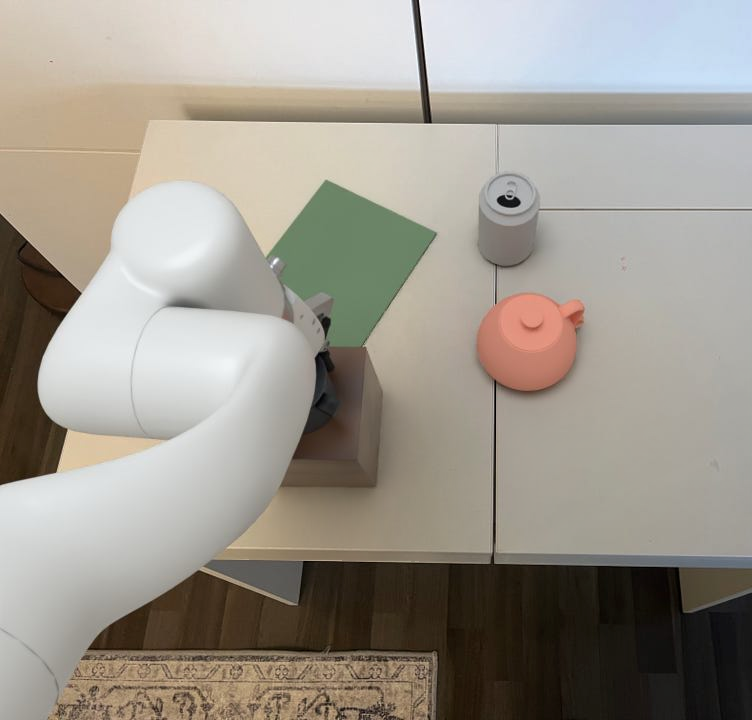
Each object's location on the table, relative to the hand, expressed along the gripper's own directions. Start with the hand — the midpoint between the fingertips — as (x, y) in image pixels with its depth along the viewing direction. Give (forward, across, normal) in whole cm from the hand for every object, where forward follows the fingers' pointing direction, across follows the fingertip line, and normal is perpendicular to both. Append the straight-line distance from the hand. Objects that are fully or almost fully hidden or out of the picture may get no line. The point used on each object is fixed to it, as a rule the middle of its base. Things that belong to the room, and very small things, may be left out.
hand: (298, 395), depth 64 cm
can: (+16, -34, +6) cm, 38 cm away
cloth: (+16, -17, -12) cm, 26 cm away
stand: (+16, 0, 0) cm, 16 cm away
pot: (+2, 0, 0) cm, 2 cm away
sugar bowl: (+16, -22, +16) cm, 31 cm away
